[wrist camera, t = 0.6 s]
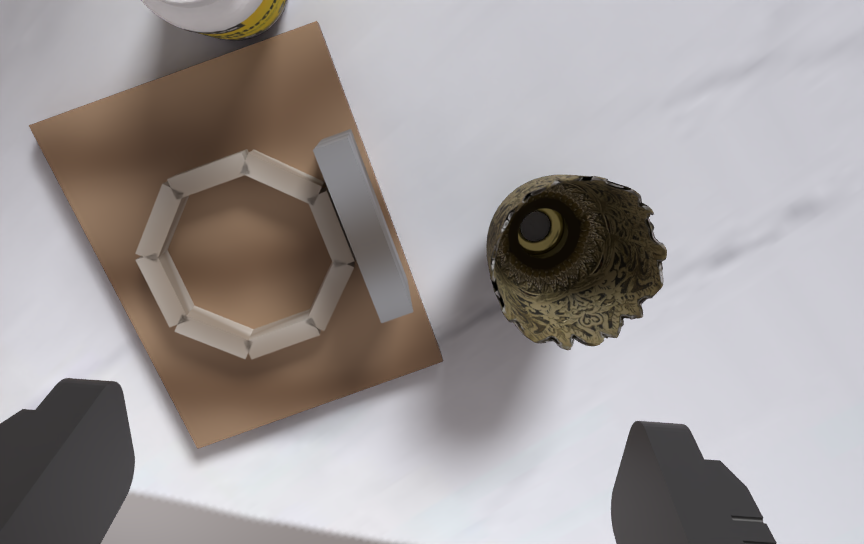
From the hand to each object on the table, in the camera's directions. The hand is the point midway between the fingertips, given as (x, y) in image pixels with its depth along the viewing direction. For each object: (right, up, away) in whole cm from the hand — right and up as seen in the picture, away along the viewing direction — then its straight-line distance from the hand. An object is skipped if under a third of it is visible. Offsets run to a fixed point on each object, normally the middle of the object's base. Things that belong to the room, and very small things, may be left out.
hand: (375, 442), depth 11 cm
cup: (+6, +5, +25) cm, 26 cm away
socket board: (-8, +4, +23) cm, 25 cm away
